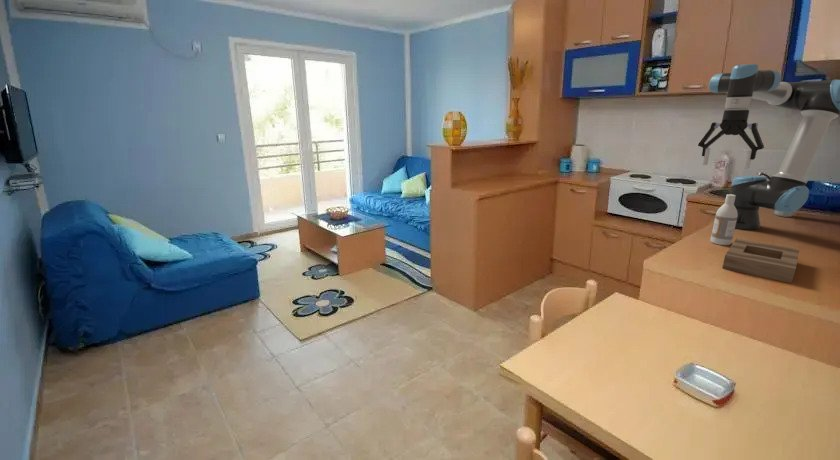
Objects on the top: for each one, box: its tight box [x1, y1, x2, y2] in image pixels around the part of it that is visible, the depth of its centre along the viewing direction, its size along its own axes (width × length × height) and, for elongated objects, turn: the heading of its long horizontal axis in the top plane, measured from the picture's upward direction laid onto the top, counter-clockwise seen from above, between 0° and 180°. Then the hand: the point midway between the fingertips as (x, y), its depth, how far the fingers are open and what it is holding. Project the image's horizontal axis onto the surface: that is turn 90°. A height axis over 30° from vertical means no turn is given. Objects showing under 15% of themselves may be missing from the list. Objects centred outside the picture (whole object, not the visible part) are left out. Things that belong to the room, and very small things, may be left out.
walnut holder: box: [721, 238, 800, 284], centre depth 141 cm, size 24×18×5 cm
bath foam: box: [709, 193, 738, 246], centre depth 162 cm, size 7×7×20 cm
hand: (725, 166), depth 156 cm, fingers open, 13 cm apart
